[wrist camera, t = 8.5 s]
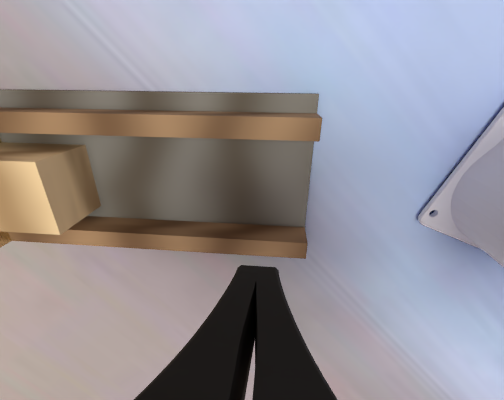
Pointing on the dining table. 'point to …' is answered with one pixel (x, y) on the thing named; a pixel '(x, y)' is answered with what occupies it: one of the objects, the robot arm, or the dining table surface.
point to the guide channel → (180, 166)
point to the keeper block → (45, 187)
